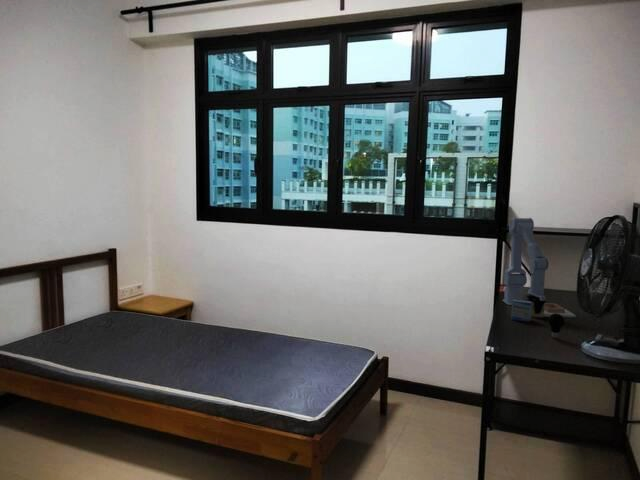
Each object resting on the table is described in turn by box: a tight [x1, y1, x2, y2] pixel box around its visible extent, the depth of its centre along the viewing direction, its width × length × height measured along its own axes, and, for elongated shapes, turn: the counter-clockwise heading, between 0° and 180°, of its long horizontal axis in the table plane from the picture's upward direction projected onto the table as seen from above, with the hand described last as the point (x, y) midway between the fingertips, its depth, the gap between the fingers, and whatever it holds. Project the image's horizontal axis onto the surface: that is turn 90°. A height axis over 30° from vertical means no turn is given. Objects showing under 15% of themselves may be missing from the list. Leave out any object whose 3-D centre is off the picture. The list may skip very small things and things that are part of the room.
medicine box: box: [510, 299, 532, 323], centre depth 211 cm, size 8×4×9 cm, turn 62°
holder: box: [543, 302, 577, 318], centre depth 225 cm, size 18×14×3 cm
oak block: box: [531, 302, 544, 318], centre depth 218 cm, size 4×6×6 cm, turn 87°
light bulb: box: [547, 314, 566, 339], centre depth 186 cm, size 6×6×10 cm
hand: (535, 312), depth 218 cm, fingers closed on oak block, 4 cm apart
